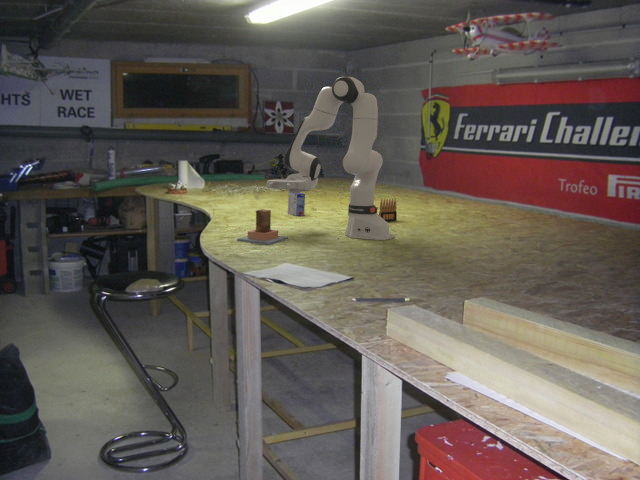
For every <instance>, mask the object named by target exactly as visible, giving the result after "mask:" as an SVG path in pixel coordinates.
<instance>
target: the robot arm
mask: <svg viewBox="0 0 640 480" xmlns="http://www.w3.org/2000/svg"><path fill="white" fill-rule="evenodd" d="M344 103H345V104H347V105H351V106H352V109H353V110H352V112H353V114H352V115H353V116H352V131H351V132H352V134H351V139H350V143H349V146H348V149H347V152H346V154H345V155H344V157H343V159H342V166H343V169H344V170H345V172H346V173H348V174H350V175H353V176H354V178H353V181H352V184H351V185H350V186H349V204H348V208H347V209H348V210H347V213H348V214H347V215H348V220H347V226H346V229H345V232H344V234H345V236H348V237H349V238H351V239H363V240H374V241H386V240H391V239H392V238H393V239H394V237H395V234H394V233H392V232H391V233H390V227H389V223H388V222H386V221H385V220H384V219H383V218H381V217H380V216H379V213H378V211H379V209H380V206H376V205H375V188H376V183H377V180H378V179H377V178H378V176H379V172H380V170H381V167H382V166H383V163H384V162H383V156H382V154H381V153H379V152H378V151H376V150H374V149H373V146H374V143H375V140H376V139H377V136H378V119H379V111H378V110H379V109H378V107H379V105H378V100H377V98H376V96H375V94H372V93H369V92H367V87H366V85H365V83H364V82H363V81H362V80H361V79H358V78H355V77H353V76H340V77H338V78H336V79H335V80H334V82H332V86H324V87H323V88H321V90H320V91H319V93H318V95H317V98H316V100H315V103H314V106H313V109H312V111H311V113H309V115H307V116H304V118H303V119H302V121H301V122H300V124H299V126H298V128H297V130H296V132H295V135H294V136H293V138H292V140H291V143H290V144H289V146H288V148H287V149H286V151H285V153H284V154H283V162H284V163H283V164H284V165H285V167H286V168H287V169H290V170H293V171H297V172H298V173H291V174H289V175H288V176H286V178H285V179H268V180H267V181H266V187H267V188H268V189H272V190H273V189H276V190H277V189H278V190H280V189H281V190H282V189H283V190H287V191H288V193H289V192H291V193H298V192H299V193H304V192H310V191H312V190H313V189H314V188H315V187H317V185H318V183H319V176H320V174H321V171H322V163H321V158H319V156H315V155H314V154H311V153H308V152H305V151H303V150H302V147H303V144H304V142H305V140H306V138H307V136H308V134H309V133H310V132H313V131H325V130H328V129H330V128H331V127H333V125H334V123H335V121H336V118H337V115H338V111H339V108H340V106H341V105H342V104H344Z"/></svg>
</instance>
